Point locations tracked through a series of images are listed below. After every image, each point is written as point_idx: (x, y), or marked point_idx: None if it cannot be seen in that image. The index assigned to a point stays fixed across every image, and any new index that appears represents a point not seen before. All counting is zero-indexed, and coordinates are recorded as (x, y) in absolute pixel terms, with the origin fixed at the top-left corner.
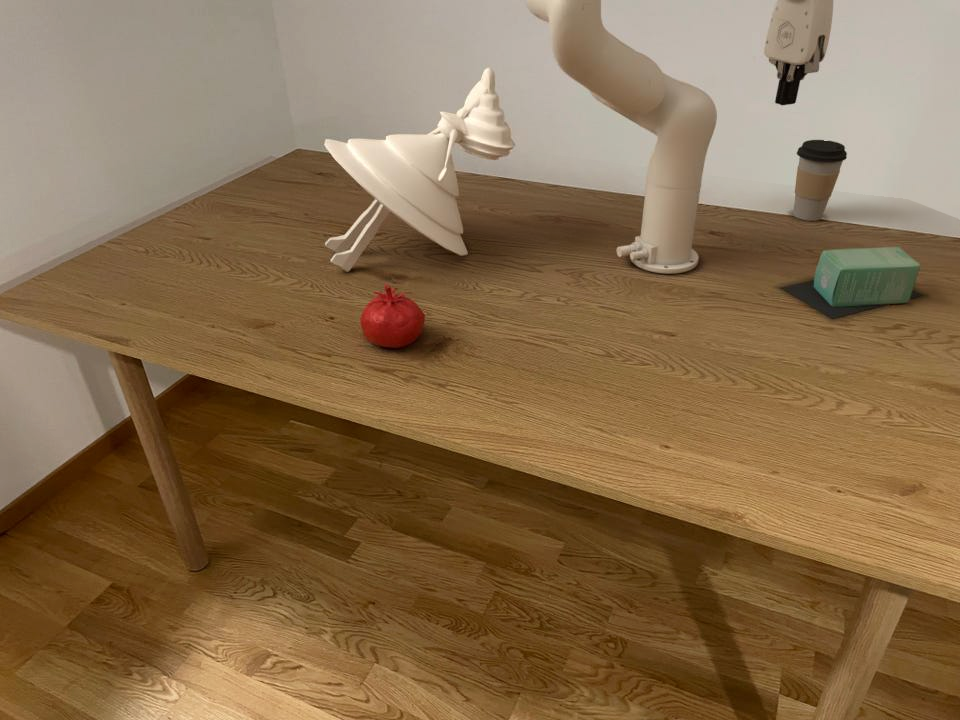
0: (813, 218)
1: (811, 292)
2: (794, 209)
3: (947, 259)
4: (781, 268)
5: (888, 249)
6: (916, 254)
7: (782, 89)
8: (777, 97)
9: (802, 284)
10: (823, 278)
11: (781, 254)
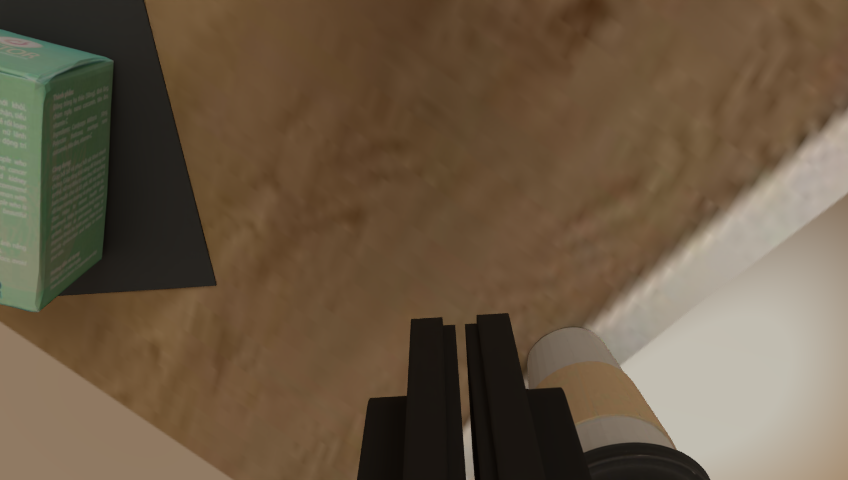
0: (530, 355)
1: (88, 35)
2: (589, 338)
3: (219, 462)
4: (265, 59)
5: (18, 273)
6: (259, 427)
7: (434, 418)
8: (491, 346)
9: (142, 44)
10: (19, 44)
11: (357, 124)
